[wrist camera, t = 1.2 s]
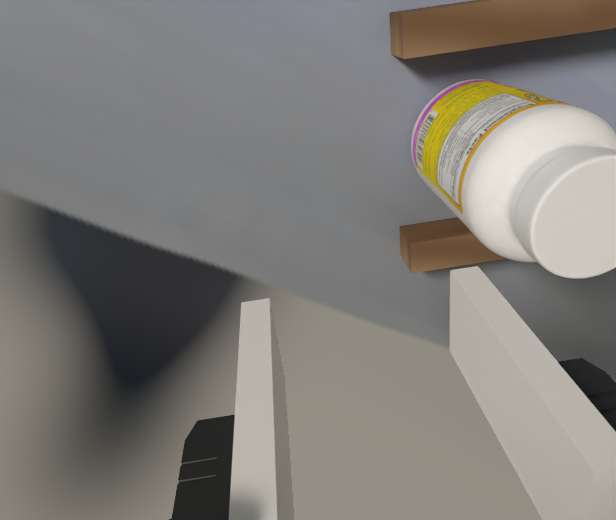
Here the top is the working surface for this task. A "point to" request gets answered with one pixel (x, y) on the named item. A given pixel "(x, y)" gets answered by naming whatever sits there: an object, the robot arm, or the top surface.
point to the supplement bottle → (523, 174)
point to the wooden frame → (470, 35)
